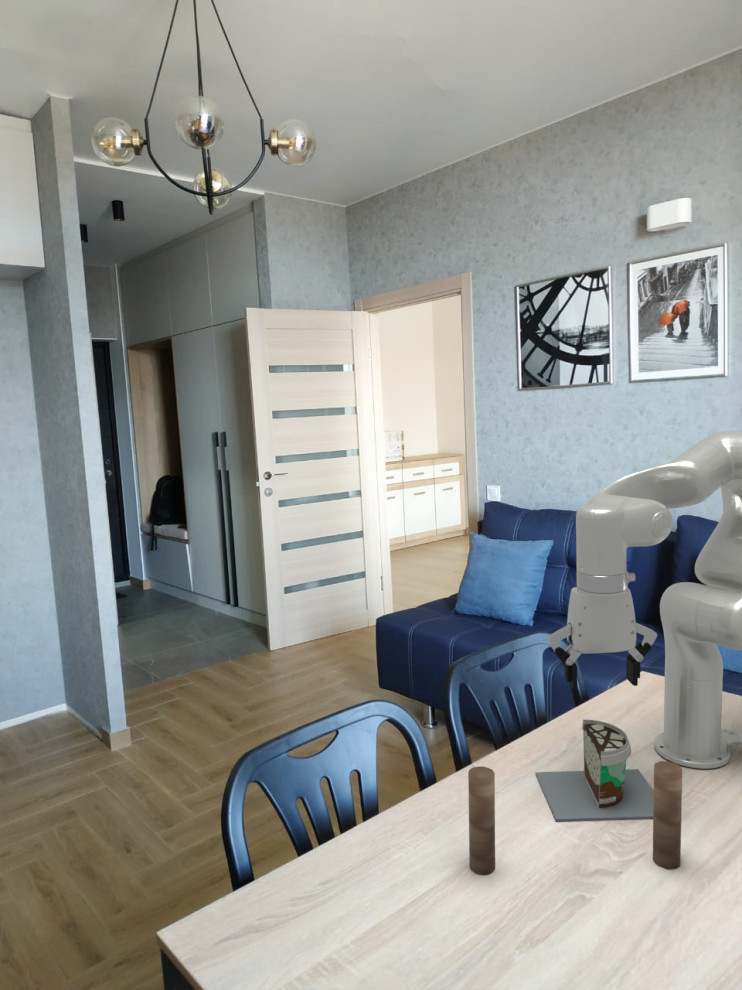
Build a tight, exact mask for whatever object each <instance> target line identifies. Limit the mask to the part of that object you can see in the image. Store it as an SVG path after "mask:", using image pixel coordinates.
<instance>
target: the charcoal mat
mask: <svg viewBox="0 0 742 990" xmlns="http://www.w3.org/2000/svg"><path fill="white" fill-rule="evenodd" d="M535 777H536V779H537V781H538V783H539V787H540V788H541V790H542V792H543V795H544V797H545V800H546V802H547V804H548V807H549V809H550V811H551V814H552V815H553V818H554V820H555V822H557V823H558V822H559V823H560V822H587V821H588V822H589V821H591V822H592V821H593V822H594V821H620V820H653V808H654V788H653V787H652V786H651V785H650V783H649V782H648V781H647V779H646V778H645V776H644V775H643V774H642V772H641V771H640V769H639V768H637V769H636V768H634V769H632V768H631V769H626V770H625V780H624V791H623V798H622V800H621V802H620V803H618V804H616V805H615V806H611V807H607V808H599V807H598V805H597V803H596V801H595V799H594V797H593V794H592V792H591V790H590V788H589V786H588V784H587V782H586V780H585V777H584V770H570V771H569V770H568V771H567V770H566V771H564V770H563V771H539V772H538V771H537V772H535Z"/></svg>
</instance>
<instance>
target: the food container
mask: <svg viewBox="0 0 742 990" xmlns="http://www.w3.org/2000/svg"><path fill="white" fill-rule="evenodd" d="M581 729H582V735H583V738H582V739H583V743H582V744H583V771H584V777H585V780H586V782H587V784H588V786H589V788H590V790H591V792H592V794H593V797H594V799H595V801H596V803H597V805H598V807H599V808H607V807H611V806H615V805H616V804H618V803H620V802H621V800H622V798H623V791H624V780H625V770H627V769H626V767H627V760H628V759H629V758H630V757H631V755H632V748H631V743H630V739H629V738H628V736H627V734H626V733H625V732H624V731H623V730H622V729H621V728H619V727H618V726H615V725H614V724H611V723H609V722H605V721H601V720H595V719H583V720H582V728H581Z"/></svg>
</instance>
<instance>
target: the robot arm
mask: <svg viewBox="0 0 742 990" xmlns="http://www.w3.org/2000/svg"><path fill="white" fill-rule="evenodd" d="M719 489H720V490H721V498H722V500H721V501H722V514H721V518H720V520H718V522H717V525H716V527H715V528H714V529H713V531H712V533H711V535H710V536H709V537H708V539H707V541H706V543H705V545H704V546H703V547H702V549H701V551H700V552H699V554H698V557H697V559H696V561H695V564H694V574H695V576H696V578H697V579H698V581H700V582H701V583H697V582H690V581H689V582H688V581H685V582H684V581H683V582H676V583H673V584H671V585H670V586H668V587H667V588H666V589H665V591H664V592H663V593H662V596H661V598H660V602H659V615H660V621H661V625H662V630H663V636H664V637H663V638H664V639H663V640H664V653H665V654H664V656H665V657H664V663H665V664H664V694H663V696H664V700H663V701H664V703H663V704H664V705H663V707H664V708H663V732H662V733H659V734H658V735H657V736H656V737H655V739H654V744H653V745H654V746H653V747H654V749H655V751H656V753H658V755H659V756H661V757H662V758H664V759H665V760H667V761H668V762H673V763H675V764H677V765H679V766H683V767H687V768H692V769H702V770H703V769H704V770H705V769H706V770H709V769H710V770H711V769H717V768H721V767H723V766H725V765H727V764H728V763H729V762H730V759H731V753H730V747H732V745H737V746H738V745H739V746H742V733H735V731H734V729H733V728H725V729H722V719H723V718H722V715H723V713H722V710H723V708H722V707H723V682H724V681H723V679H724V678H723V677H724V676H723V675H724V663H723V657H722V654H721V652H720V649H719V646H722V647H725V648H729V649H733V650H737V651H742V430H722V431H717V432H714V433H711V434H709V435H708V436H706V437H704V438H703V439H701V440H700V441H699V442H697V443H696V444H694V445H693V446H692V447H690V448H688V449H686V450H685V451H684V452H683V453H681V454H680V455H678V456H677V457H676V458H674V459H673V460H671V461H669V462H666V463H663V464H659V465H657V466H656V465H655V466H653V467H651V468H650V467H649V468H647V469H644V470H641V471H637V472H634V473H631V474H628V475H625V476H622V477H621V478H619V479H615V480H614V481H613V482H611V483H609V484H608V485H606V486H604V487H603V488H602V489H600V490H599V491H598V492H596V493H595V494H594V495H593V496H592V497H591V498H590V499H589V500H588V502H587V503H586V504H583V505H581V506H580V507H579V508H578V509H577V511H576V513H575V535H576V536H575V539H576V543H575V544H576V550H575V551H576V587H572V588H571V591H570V593H569V594H570V595H569V600H568V601H569V602H568V610H567V620H566V625H565V626H563V627H561V628H559V629H557V630H556V631H554V632H552V633H551V634H549V635H548V636H546V639H547V641H548V643H549V644H550V646H551V648H552V650H553V652H554V653H555V654H556V656H558V658H560V659H561V660H562V661H563V662H564V680H565V682H566V683H568V684H569V685H570V687H571V689H572V690H576V689H577V688H578V665H577V664H576V663H575V662H576V661H577V660H578V658H579V657H580V656H581V655H582V654H603V653H605V654H607V653H623V652H628V655H627V656H626V657H625V658H626V659H625V660H626V661H625V662H626V663H625V664H626V670H625V672H626V675H625V677H626V680H627V681H628V682H629V683H630V684H631V685H632V686H634V687H635V686H636V687H637V686H638V683H639V680H638V679H641V662H642V661H643V660H644V657H646V655H647V654H648V653H649V652H650V651H651V650H652V646H653V645H654V643H655V641H656V640H657V637H658V633H657V632H656V631H654V630H653V629H652V628H649V627H647V626H645V625H642V624H640V623H639V622H638V623H637V621H636V613H635V607H634V601H633V596H632V593H631V590H630V588H629V583H631V582H635V581H636V574H635V572H628V571H627V549H628V548H631V547H635V548H636V547H652V546H655V545H657V544H658V545H659V544H660V543H662V542H663V541H664V540H666V538H668V537H669V535H670V533H671V532H672V529H673V525H674V519H673V516H672V513H671V511H670V509H678V508H684V507H689V506H694V505H699V504H700V503H703V502H705V500H706V499H708V498H709V497H710V496H712V495H713V494H714V493H715V492H716V491H718V490H719ZM637 634H640V635H641V636H643V640H641V641H640V642H639V643H638V645H637V640H638V639H637ZM564 639H567V643H568V644H569V645H568V646H567V647H566V648H565V649H564V648H563V647H562V646H561V645H560V642H561V641H562V640H564Z"/></svg>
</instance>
